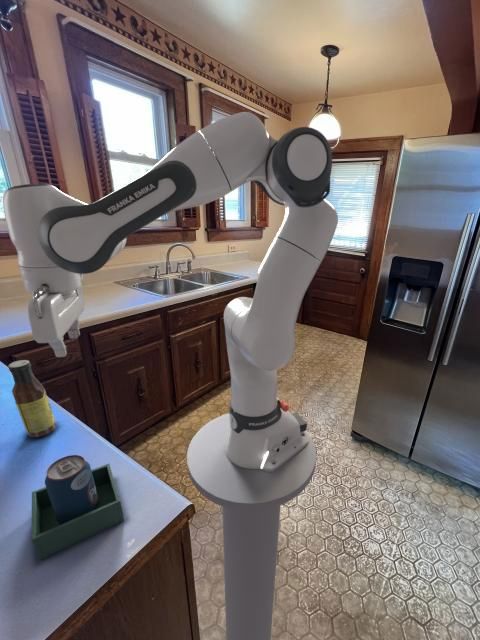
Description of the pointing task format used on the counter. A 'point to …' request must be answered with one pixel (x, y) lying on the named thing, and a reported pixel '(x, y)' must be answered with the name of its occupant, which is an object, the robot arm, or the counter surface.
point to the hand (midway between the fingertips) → (69, 345)
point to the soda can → (71, 488)
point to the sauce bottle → (31, 400)
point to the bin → (57, 537)
